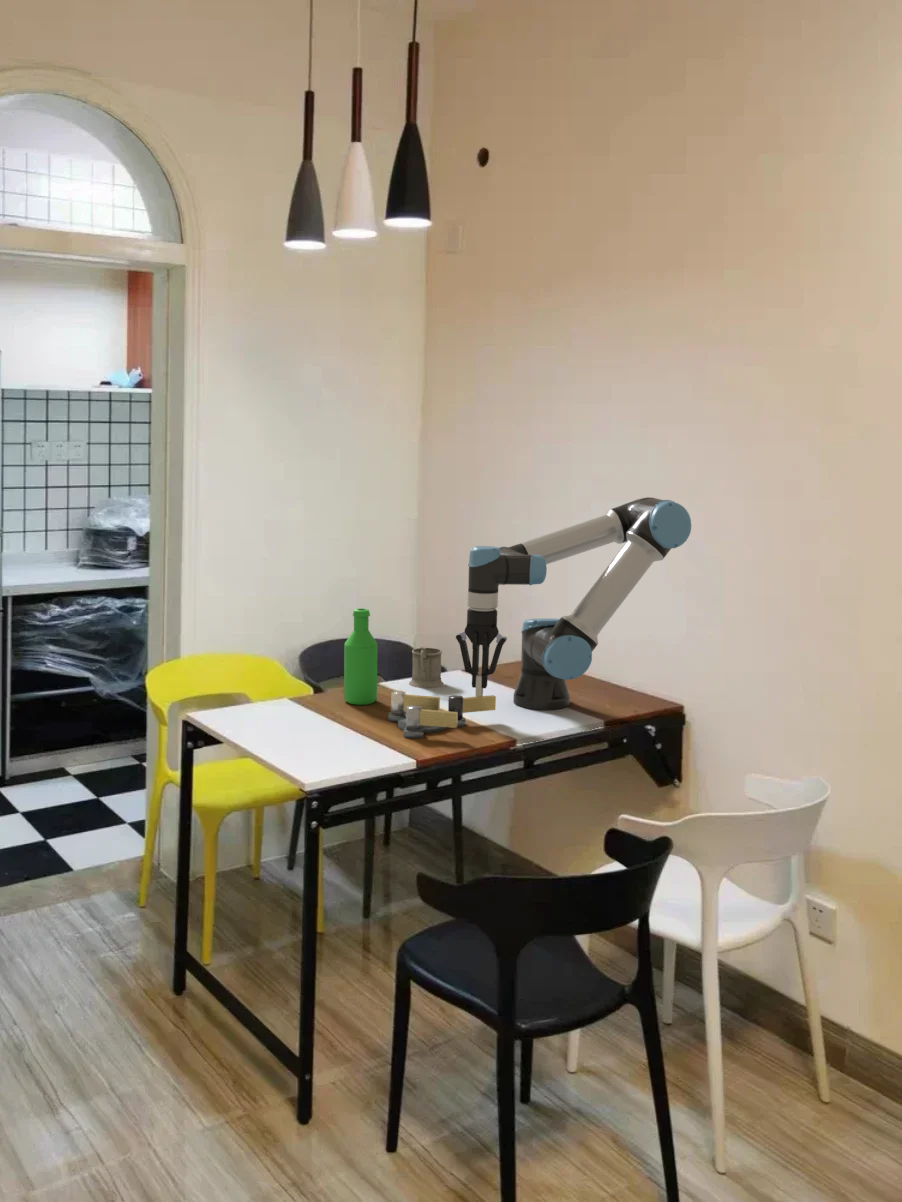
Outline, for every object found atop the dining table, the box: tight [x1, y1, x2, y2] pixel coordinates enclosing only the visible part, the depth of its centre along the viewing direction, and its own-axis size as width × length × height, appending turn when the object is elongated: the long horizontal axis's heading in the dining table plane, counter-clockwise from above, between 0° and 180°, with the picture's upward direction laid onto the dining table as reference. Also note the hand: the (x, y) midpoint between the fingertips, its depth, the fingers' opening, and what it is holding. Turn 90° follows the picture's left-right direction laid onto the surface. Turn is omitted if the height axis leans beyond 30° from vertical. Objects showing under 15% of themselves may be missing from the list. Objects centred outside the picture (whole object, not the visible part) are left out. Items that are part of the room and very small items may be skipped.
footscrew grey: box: [405, 705, 458, 732], centre depth 270 cm, size 12×4×6 cm, turn 77°
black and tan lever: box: [447, 694, 497, 720], centre depth 283 cm, size 12×4×6 cm, turn 112°
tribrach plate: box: [387, 711, 466, 740], centre depth 277 cm, size 20×18×2 cm
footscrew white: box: [390, 690, 441, 716], centre depth 283 cm, size 12×4×6 cm, turn 77°
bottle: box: [343, 608, 378, 706], centre depth 300 cm, size 9×9×25 cm
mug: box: [408, 646, 444, 689], centre depth 320 cm, size 14×10×12 cm
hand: (478, 700), depth 286 cm, fingers closed
